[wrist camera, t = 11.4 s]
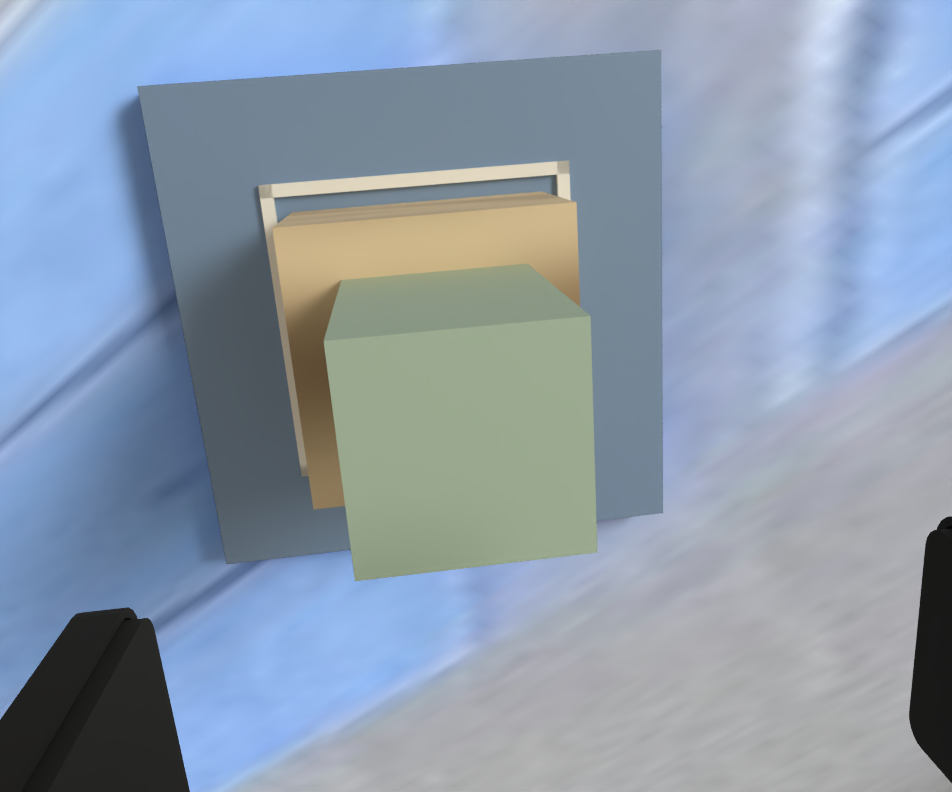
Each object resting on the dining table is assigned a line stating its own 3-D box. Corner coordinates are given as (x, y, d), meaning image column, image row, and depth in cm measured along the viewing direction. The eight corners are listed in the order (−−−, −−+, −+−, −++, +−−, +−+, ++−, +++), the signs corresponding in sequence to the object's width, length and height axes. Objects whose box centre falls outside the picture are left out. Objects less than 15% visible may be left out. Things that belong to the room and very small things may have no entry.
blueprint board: (652, 499, 32) (664, 514, 30) (232, 548, 30) (225, 567, 29) (649, 53, 27) (663, 49, 25) (148, 88, 25) (135, 85, 24)
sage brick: (536, 436, 24) (597, 552, 17) (362, 455, 23) (355, 581, 16) (527, 263, 22) (590, 315, 15) (341, 279, 22) (323, 341, 15)
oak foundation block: (552, 423, 29) (586, 478, 24) (325, 447, 28) (313, 509, 23) (541, 191, 26) (576, 201, 22) (292, 212, 26) (271, 228, 21)
